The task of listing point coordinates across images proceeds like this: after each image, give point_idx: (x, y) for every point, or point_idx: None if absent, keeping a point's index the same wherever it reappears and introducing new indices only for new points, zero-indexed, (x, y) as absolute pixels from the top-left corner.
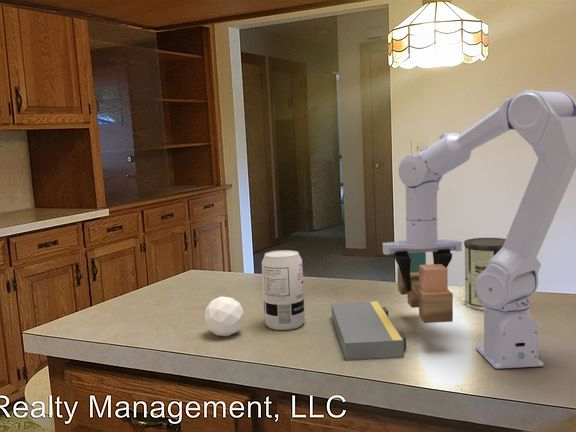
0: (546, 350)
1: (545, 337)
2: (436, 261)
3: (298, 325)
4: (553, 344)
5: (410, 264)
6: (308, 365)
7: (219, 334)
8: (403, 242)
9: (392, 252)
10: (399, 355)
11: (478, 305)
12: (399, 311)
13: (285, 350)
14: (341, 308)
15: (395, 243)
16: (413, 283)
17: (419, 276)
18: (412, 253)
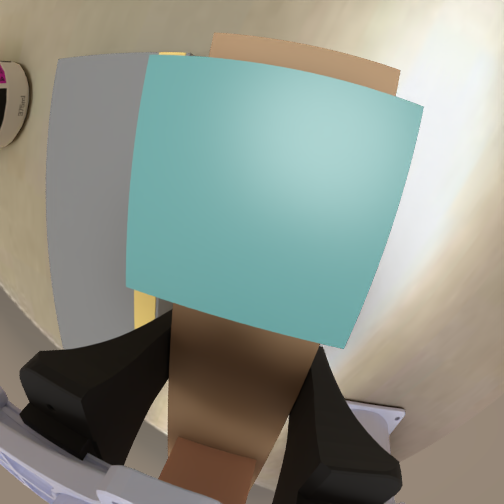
0: (425, 425)
1: (481, 382)
2: (291, 471)
3: (15, 135)
4: (458, 409)
5: (128, 452)
6: (39, 319)
7: None
8: (38, 465)
9: (22, 422)
10: None
11: None
12: (294, 41)
13: (8, 247)
14: (67, 107)
15: (7, 464)
16: (169, 405)
17: (164, 468)
18: (196, 304)
